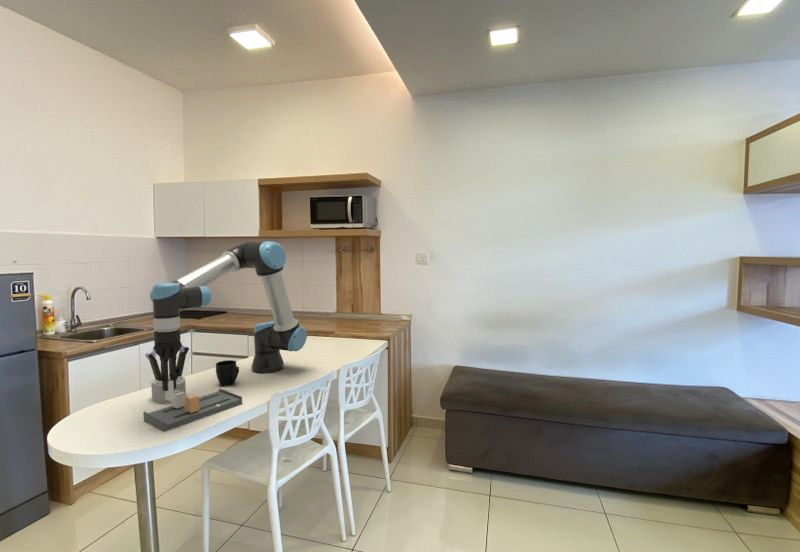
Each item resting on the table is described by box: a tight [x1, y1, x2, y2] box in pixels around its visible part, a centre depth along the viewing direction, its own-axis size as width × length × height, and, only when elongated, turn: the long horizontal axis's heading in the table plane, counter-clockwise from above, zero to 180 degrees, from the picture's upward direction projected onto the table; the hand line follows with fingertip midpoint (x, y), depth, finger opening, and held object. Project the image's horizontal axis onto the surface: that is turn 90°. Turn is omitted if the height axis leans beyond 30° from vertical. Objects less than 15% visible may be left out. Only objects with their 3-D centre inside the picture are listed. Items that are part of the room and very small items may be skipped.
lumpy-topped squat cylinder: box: [150, 374, 187, 405], centre depth 156 cm, size 10×13×9 cm
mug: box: [215, 359, 240, 387], centre depth 171 cm, size 8×12×10 cm
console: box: [142, 388, 243, 433], centre depth 143 cm, size 28×15×3 cm, turn 145°
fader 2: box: [185, 393, 200, 413], centre depth 138 cm, size 3×4×5 cm
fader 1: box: [170, 390, 185, 408], centre depth 142 cm, size 3×4×5 cm
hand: (169, 399), depth 132 cm, fingers closed
